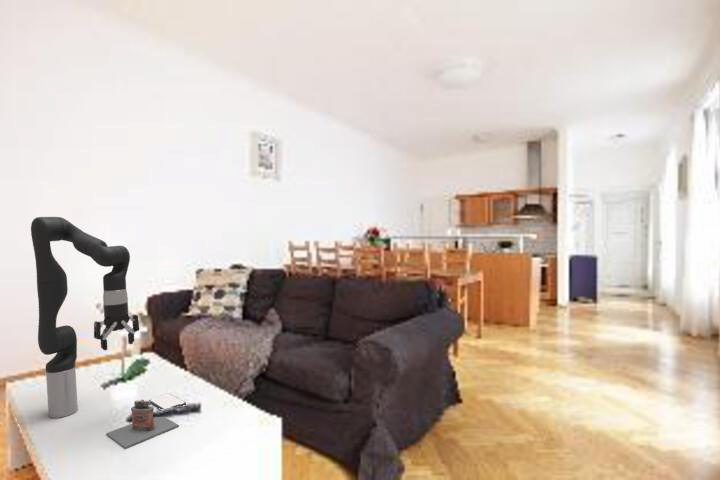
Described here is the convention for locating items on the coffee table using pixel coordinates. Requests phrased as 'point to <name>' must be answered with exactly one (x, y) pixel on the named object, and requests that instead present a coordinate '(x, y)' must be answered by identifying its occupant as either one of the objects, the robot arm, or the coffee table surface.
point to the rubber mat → (140, 432)
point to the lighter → (142, 416)
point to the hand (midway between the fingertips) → (118, 346)
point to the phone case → (166, 401)
